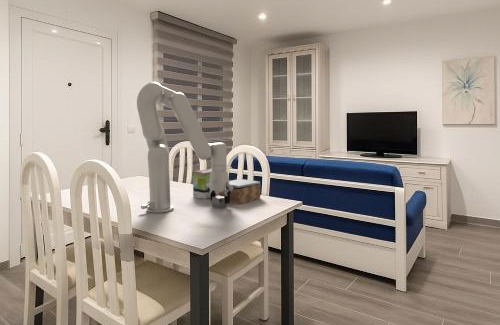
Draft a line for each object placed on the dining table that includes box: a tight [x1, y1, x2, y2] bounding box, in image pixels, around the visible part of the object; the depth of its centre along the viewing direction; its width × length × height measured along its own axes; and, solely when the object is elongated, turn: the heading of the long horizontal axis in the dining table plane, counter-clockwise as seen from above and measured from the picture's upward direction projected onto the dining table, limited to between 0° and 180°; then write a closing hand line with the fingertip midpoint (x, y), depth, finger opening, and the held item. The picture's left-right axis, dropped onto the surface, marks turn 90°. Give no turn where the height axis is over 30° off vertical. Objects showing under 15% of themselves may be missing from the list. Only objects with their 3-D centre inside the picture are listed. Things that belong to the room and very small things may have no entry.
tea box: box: [192, 168, 219, 200], centre depth 197 cm, size 15×10×15 cm, turn 143°
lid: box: [229, 178, 261, 188], centre depth 187 cm, size 18×14×1 cm
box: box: [219, 183, 261, 205], centre depth 188 cm, size 18×14×8 cm
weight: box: [211, 196, 227, 209], centre depth 173 cm, size 5×5×5 cm
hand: (220, 202), depth 173 cm, fingers open, 9 cm apart
